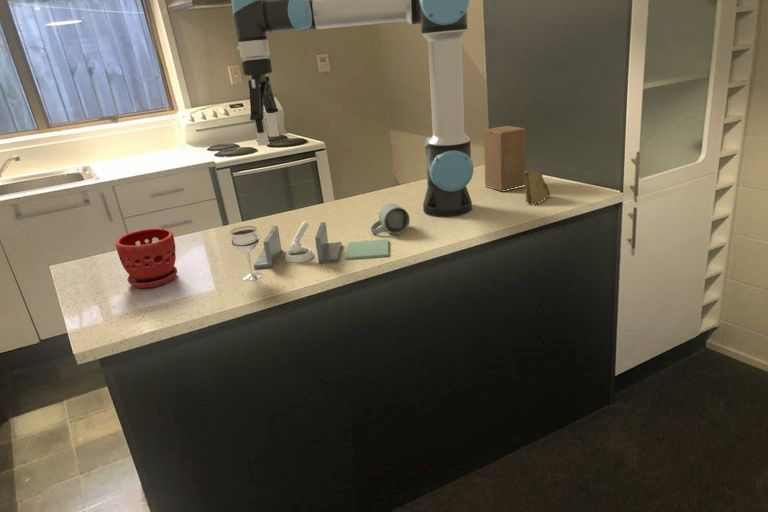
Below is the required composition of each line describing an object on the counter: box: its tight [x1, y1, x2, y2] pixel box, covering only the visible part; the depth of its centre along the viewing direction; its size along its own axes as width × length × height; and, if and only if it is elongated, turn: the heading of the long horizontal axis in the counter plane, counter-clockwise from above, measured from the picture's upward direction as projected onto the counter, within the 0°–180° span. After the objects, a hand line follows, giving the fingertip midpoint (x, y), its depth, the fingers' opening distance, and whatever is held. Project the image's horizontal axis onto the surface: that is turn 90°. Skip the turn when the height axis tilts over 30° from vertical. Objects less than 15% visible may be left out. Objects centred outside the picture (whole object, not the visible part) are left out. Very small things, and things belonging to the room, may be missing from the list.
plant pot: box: [115, 228, 178, 289], centre depth 132 cm, size 13×13×12 cm
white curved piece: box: [284, 220, 315, 263], centre depth 139 cm, size 8×12×7 cm
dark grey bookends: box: [253, 221, 343, 270], centre depth 140 cm, size 21×12×7 cm, turn 89°
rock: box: [524, 170, 551, 206], centre depth 167 cm, size 11×9×10 cm
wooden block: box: [483, 125, 527, 191], centre depth 183 cm, size 10×10×20 cm
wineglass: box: [228, 225, 263, 282], centre depth 129 cm, size 7×7×12 cm
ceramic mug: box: [370, 203, 411, 235], centre depth 153 cm, size 11×8×8 cm
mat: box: [344, 238, 389, 260], centre depth 141 cm, size 11×11×1 cm
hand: (269, 140), depth 147 cm, fingers open, 13 cm apart
